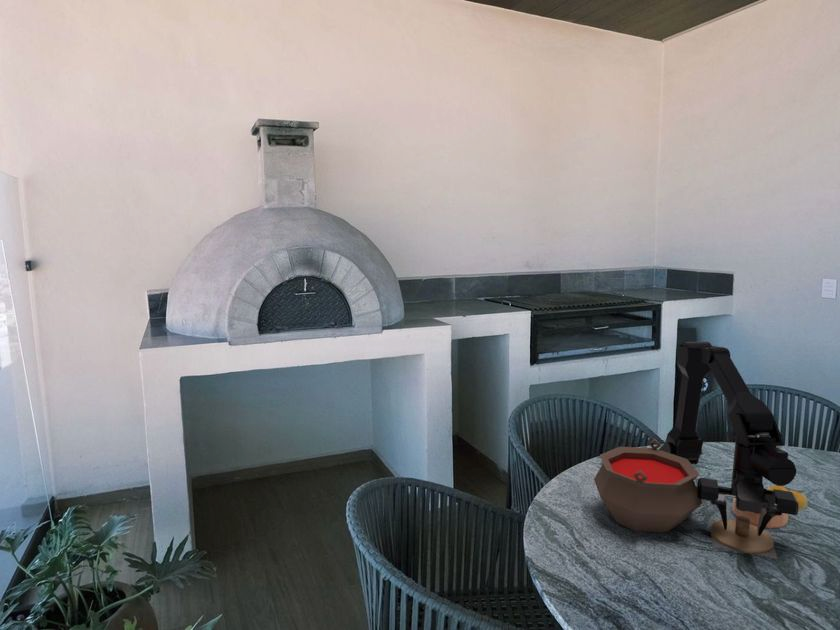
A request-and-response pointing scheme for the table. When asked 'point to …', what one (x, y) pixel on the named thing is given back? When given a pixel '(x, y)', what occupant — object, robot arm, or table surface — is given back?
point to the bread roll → (800, 498)
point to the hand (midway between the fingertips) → (741, 531)
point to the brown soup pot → (647, 487)
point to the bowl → (754, 518)
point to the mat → (717, 544)
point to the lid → (742, 536)
